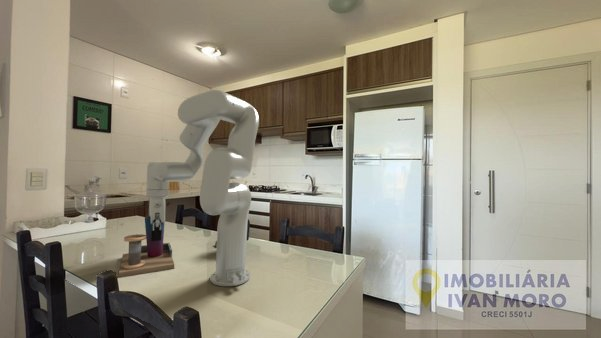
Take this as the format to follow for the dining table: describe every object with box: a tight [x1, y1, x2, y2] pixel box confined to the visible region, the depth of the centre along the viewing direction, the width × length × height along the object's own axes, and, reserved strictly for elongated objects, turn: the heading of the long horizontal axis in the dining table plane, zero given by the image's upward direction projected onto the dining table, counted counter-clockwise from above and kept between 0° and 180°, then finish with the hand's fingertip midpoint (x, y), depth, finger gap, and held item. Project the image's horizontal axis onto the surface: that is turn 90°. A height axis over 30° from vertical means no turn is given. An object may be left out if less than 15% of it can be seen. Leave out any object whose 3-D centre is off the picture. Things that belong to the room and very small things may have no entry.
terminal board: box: [118, 233, 175, 278], centre depth 93 cm, size 20×16×12 cm
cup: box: [144, 215, 165, 257], centre depth 97 cm, size 7×7×15 cm
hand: (155, 237), depth 97 cm, fingers open, 9 cm apart
